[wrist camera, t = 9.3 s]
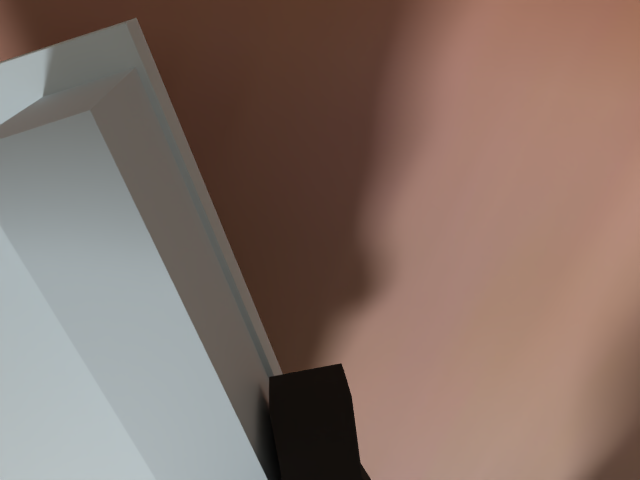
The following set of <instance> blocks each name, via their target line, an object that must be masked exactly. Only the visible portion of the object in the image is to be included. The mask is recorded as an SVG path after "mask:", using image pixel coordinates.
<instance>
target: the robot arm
mask: <svg viewBox="0 0 640 480" xmlns="http://www.w3.org/2000/svg"><path fill="white" fill-rule="evenodd" d="M269 413H270V418H271V424H272V429H273V434H274V440H275V445H276V450H277V455H278V461H279V466H280V471H281V476H282V479H281V480H371V479H370V477H369V476H368V474H367V472H366V471H365V469H364V468H363V466H362V465H361V463H360V456H359V449H358V441H357V433H356V426H355V418H354V411H353V403H352V396H351V393H350V389H349V386H348V382H347V379H346V376H345V373H344V370H343V367H342V364H336V365H331V366H325V367H320V368H314V369H309V370H304V371H298V372H293V373H287V374H282V375H277V376H271V377H269Z"/></svg>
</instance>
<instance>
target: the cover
mask: <svg viewBox="0 0 640 480" xmlns="http://www.w3.org/2000/svg"><path fill="white" fill-rule="evenodd" d="M282 374H283V373H282V371H281V368H280V366H279V363H278V361H277V359H276V356H275V354H274V351H273V349H272V346H271V344H270V342H269V339H268V337H267V334H266V332H265V329H264V327H263V324H262V322H261V320H260V317H259V315H258V312H257V310H256V307H255V305H254V303H253V300H252V298H251V295H250V293H249V290H248V288H247V286H246V283H245V281H244V278H243V276H242V273H241V271H240V268H239V266H238V264H237V261H236V259H235V256H234V254H233V251H232V249H231V247H230V244H229V242H228V239H227V237H226V234H225V232H224V230H223V227H222V225H221V222H220V220H219V217H218V215H217V212H216V210H215V208H214V205H213V203H212V200H211V198H210V195H209V193H208V191H207V188H206V186H205V183H204V181H203V178H202V176H201V174H200V171H199V169H198V166H197V164H196V161H195V159H194V156H193V154H192V152H191V149H190V147H189V144H188V142H187V139H186V137H185V135H184V132H183V130H182V127H181V125H180V122H179V120H178V117H177V115H176V113H175V110H174V108H173V105H172V103H171V100H170V98H169V96H168V93H167V91H166V88H165V86H164V83H163V81H162V79H161V76H160V74H159V71H158V69H157V66H156V64H155V61H154V59H153V57H152V54H151V52H150V49H149V47H148V44H147V42H146V40H145V37H144V35H143V32H142V30H141V27H140V25H139V23H138V20H137V18H134V19H131V20H128V21H125V22H122V23H119V24H115V25H112V26H109V27H106V28H103V29H100V30H97V31H94V32H91V33H88V34H85V35H82V36H79V37H75V38H72V39H69V40H66V41H63V42H60V43H57V44H54V45H51V46H48V47H45V48H42V49H39V50H35V51H32V52H29V53H26V54H23V55H20V56H17V57H14V58H11V59H8V60H5V61H2V62H0V480H281V479H282V476H281V471H280V466H279V461H278V455H277V450H276V445H275V440H274V434H273V429H272V424H271V418H270V413H269V377H271V376H277V375H282Z"/></svg>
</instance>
